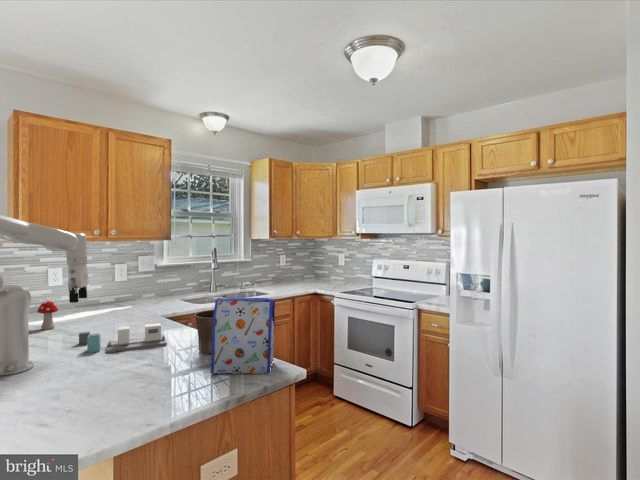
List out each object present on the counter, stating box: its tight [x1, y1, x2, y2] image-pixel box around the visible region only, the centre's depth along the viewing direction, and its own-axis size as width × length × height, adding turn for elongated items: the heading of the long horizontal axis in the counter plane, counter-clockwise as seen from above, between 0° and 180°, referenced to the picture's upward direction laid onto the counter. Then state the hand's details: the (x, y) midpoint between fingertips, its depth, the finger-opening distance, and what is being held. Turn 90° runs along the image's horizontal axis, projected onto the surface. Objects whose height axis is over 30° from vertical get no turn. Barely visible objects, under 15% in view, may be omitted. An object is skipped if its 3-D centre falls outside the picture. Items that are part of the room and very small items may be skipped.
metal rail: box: [107, 334, 166, 347], centre depth 169 cm, size 4×23×2 cm, turn 117°
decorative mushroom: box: [37, 300, 59, 331], centre depth 199 cm, size 10×9×15 cm
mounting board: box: [105, 335, 168, 354], centre depth 169 cm, size 14×24×1 cm, turn 117°
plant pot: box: [194, 309, 214, 355], centre depth 161 cm, size 16×16×16 cm
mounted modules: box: [117, 322, 162, 344], centre depth 169 cm, size 6×18×6 cm, turn 117°
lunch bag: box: [210, 297, 276, 375], centre depth 139 cm, size 23×17×27 cm
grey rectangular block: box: [78, 331, 91, 346], centre depth 171 cm, size 3×4×5 cm
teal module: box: [86, 332, 102, 354], centre depth 161 cm, size 6×4×7 cm
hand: (78, 300), depth 161 cm, fingers open, 9 cm apart
